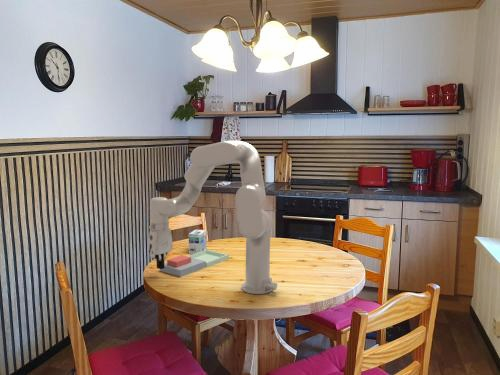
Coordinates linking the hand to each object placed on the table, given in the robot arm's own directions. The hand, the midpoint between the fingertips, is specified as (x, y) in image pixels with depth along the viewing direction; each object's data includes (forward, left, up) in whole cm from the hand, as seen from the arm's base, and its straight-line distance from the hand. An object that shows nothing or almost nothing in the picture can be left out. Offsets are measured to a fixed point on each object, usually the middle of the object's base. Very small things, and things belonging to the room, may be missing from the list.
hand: (160, 268), depth 167 cm
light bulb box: (+14, -38, -4) cm, 41 cm away
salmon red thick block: (0, -11, -1) cm, 11 cm away
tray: (0, -29, -4) cm, 29 cm away
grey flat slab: (-1, -13, -4) cm, 14 cm away
